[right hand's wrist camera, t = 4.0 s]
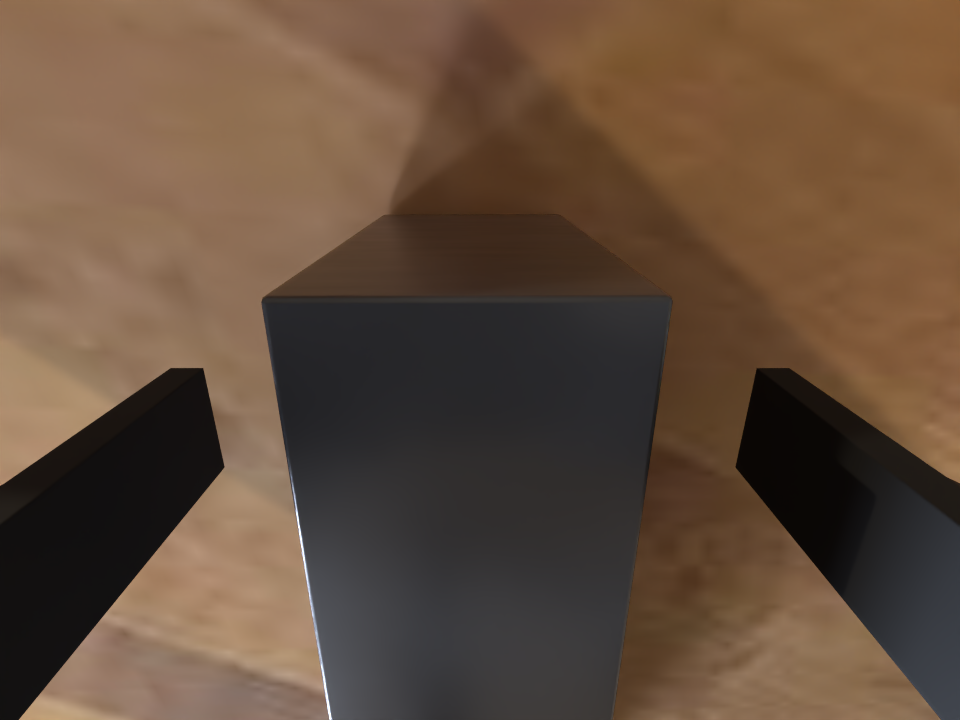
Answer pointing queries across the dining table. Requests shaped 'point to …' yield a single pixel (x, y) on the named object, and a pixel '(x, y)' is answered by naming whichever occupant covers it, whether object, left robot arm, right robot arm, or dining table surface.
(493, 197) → the dining table surface
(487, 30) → the dining table surface
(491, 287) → the charcoal bar
